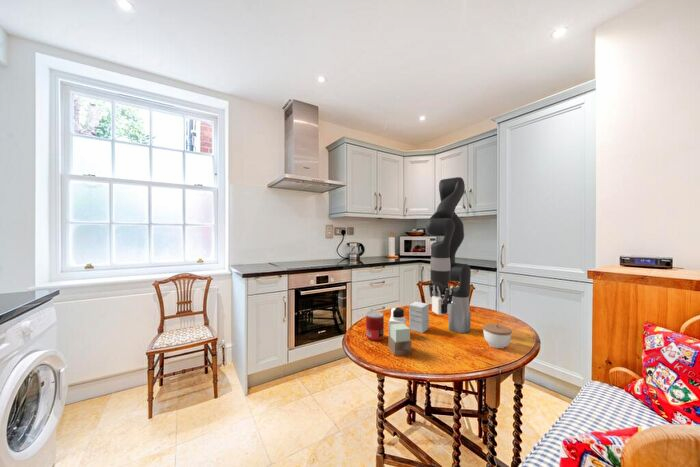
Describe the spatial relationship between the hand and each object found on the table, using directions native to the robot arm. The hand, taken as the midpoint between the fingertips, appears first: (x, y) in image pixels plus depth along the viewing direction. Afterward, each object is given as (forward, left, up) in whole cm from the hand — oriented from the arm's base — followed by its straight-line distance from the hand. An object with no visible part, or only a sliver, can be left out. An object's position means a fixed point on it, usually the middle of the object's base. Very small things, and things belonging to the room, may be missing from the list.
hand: (440, 311), depth 102 cm
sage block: (+14, -7, -13) cm, 20 cm away
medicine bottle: (+8, -23, -18) cm, 30 cm away
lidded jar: (-29, -2, -18) cm, 34 cm away
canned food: (+20, -21, -18) cm, 34 cm away
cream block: (0, 0, 0) cm, 0 cm away
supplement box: (-5, -26, -18) cm, 32 cm away
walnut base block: (+14, -7, -18) cm, 24 cm away
